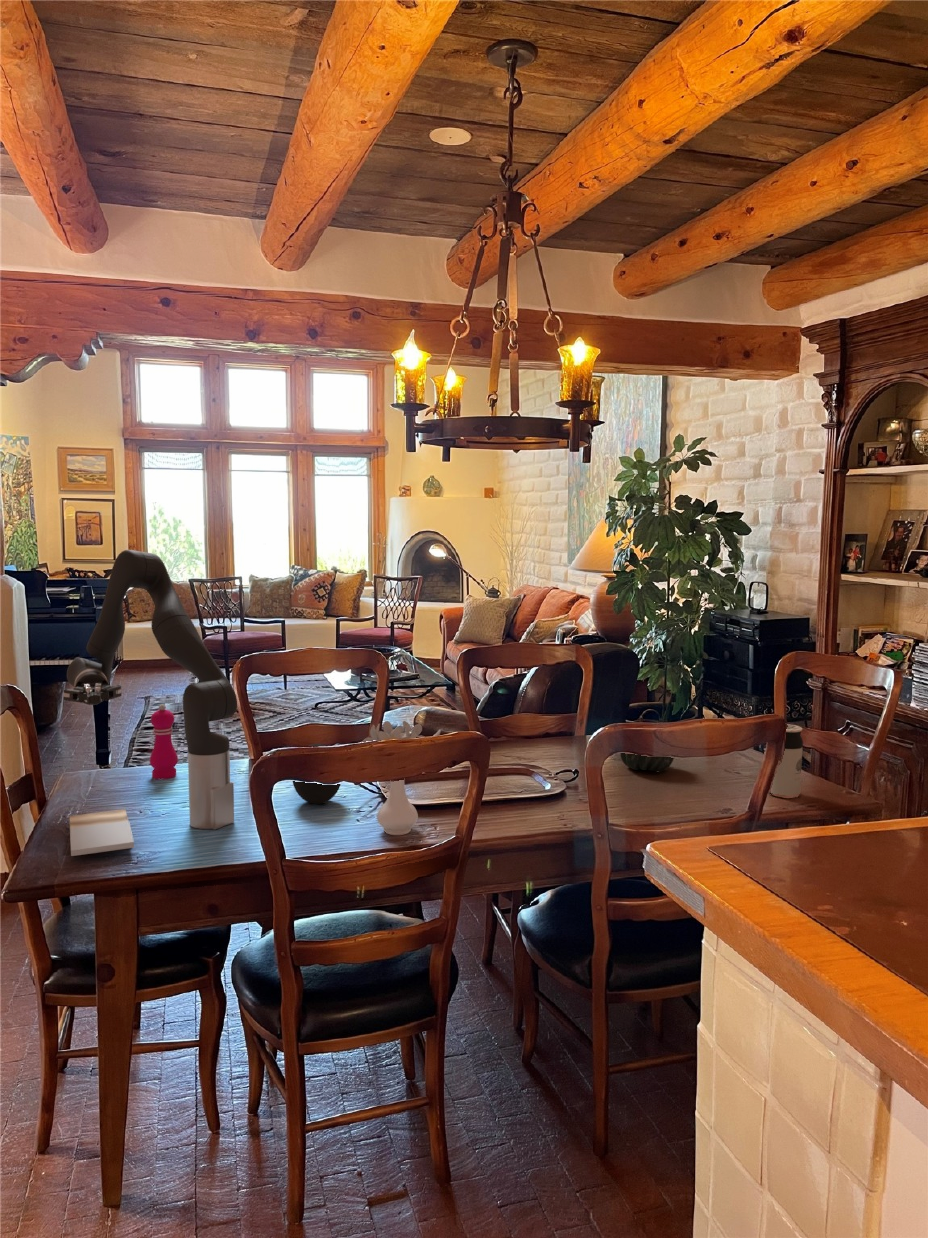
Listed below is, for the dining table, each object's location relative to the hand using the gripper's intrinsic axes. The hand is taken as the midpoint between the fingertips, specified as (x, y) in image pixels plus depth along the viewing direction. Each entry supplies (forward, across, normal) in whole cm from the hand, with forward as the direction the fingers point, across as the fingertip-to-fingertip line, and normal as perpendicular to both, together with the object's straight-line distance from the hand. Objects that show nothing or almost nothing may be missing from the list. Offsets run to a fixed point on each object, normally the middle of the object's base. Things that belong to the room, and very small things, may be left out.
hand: (94, 700), depth 194 cm
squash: (+8, +145, +30) cm, 148 cm away
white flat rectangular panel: (+5, 0, +28) cm, 28 cm away
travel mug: (+41, +164, +30) cm, 172 cm away
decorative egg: (0, +50, +30) cm, 59 cm away
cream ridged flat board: (+3, 0, +30) cm, 30 cm away
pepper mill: (-38, +18, +30) cm, 52 cm away
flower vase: (+26, +62, +30) cm, 74 cm away
